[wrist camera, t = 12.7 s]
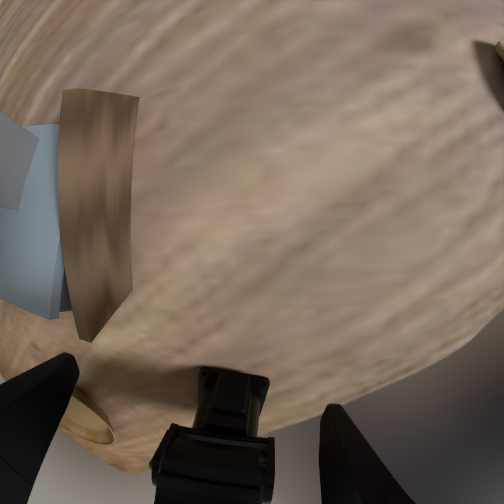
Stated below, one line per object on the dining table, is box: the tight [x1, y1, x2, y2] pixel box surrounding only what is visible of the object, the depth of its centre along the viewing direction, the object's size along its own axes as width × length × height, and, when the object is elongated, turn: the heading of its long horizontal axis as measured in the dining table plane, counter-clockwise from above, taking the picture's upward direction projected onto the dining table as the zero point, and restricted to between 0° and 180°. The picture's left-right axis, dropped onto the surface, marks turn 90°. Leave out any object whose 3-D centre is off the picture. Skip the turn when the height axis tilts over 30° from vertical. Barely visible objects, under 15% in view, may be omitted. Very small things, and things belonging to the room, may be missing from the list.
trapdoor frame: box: [58, 89, 139, 343], centre depth 17 cm, size 15×17×7 cm
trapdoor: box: [0, 123, 72, 320], centre depth 17 cm, size 12×14×5 cm
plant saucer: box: [59, 388, 116, 446], centre depth 31 cm, size 15×15×3 cm
